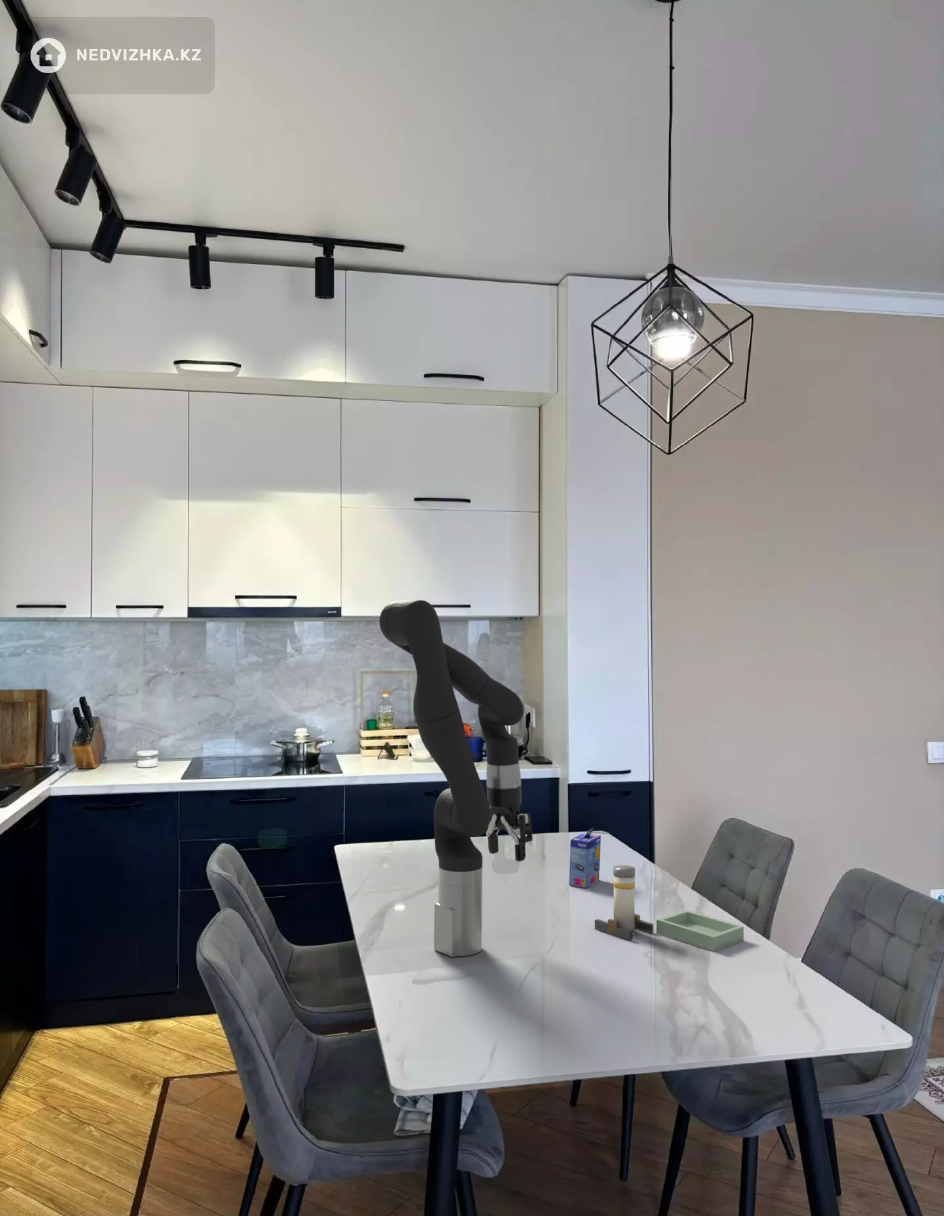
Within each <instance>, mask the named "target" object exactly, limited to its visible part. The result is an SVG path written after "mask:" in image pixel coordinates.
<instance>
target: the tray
mask: <svg viewBox="0 0 944 1216" xmlns="http://www.w3.org/2000/svg"><path fill="white" fill-rule="evenodd" d="M655 924H656V925H655V926H656V929H655V930H656V931H655V932H656V934H658V935H661V936H664V937H666V938H670V939H673V940H675V941H676V940H677V941H680V942H682V943H685V944H688V945H691V946H695V947H698V948H701V949H704V950H707V951H710V952H713V953H714V952H716V951H719V950H723V949H725V948H728V947H730V946H733V945H735V944H738V943H741V942H743V941H745V940H744V939H745V937H744V935H745V934H744V933H745V932H744V930H745V926H744V925H743V926H742V925H739V924H736V923H732V922H729V921H726V920H722V919H719V918H715V917H711V916H708V915H705V914H702V913H698V912H696V911H695V912H694V911H691V910H687V909H685V910H682V911H680V912H677V913H673V914H670V915H667V916H662V917H660V918H656V923H655Z"/></svg>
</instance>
